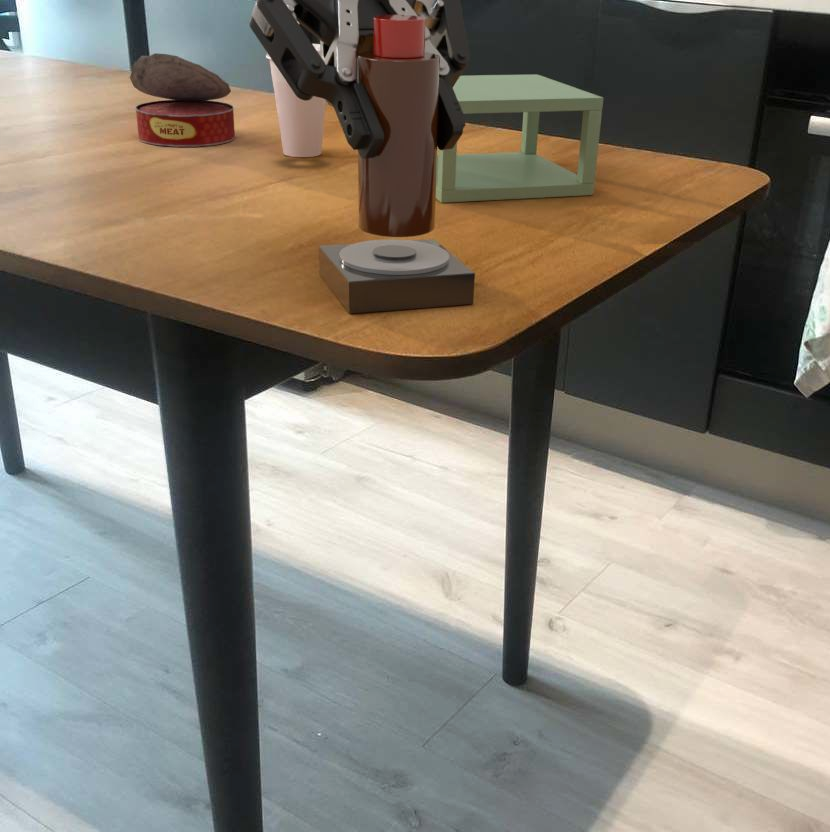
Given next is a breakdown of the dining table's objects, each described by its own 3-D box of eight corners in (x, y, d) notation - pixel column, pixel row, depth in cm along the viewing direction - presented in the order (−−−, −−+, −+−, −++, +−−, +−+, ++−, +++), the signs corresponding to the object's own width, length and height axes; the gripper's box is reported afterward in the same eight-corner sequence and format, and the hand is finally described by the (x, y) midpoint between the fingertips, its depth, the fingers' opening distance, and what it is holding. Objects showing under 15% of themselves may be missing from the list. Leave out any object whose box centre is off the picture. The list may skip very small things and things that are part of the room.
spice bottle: (369, 239, 65) (370, 22, 59) (349, 219, 69) (348, 13, 63) (445, 234, 67) (452, 21, 61) (421, 215, 71) (426, 12, 65)
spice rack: (441, 202, 90) (444, 101, 86) (393, 167, 102) (394, 76, 98) (593, 195, 94) (603, 97, 90) (530, 162, 106) (537, 74, 102)
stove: (349, 314, 65) (349, 273, 64) (319, 275, 72) (318, 238, 71) (473, 304, 68) (475, 264, 66) (433, 267, 74) (434, 231, 73)
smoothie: (315, 144, 110) (312, -8, 104) (346, 156, 106) (346, -3, 99) (258, 150, 107) (251, -7, 100) (288, 162, 103) (283, -1, 96)
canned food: (140, 184, 113) (97, 90, 111) (216, 161, 119) (177, 71, 117) (189, 147, 104) (144, 44, 102) (269, 124, 110) (228, 26, 108)
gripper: (393, -48, 73) (485, 171, 71) (193, -47, 67) (286, 195, 64) (438, -140, 67) (541, 97, 64) (221, -149, 60) (325, 115, 57)
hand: (413, 144), depth 64 cm, fingers closed on spice bottle, 5 cm apart
